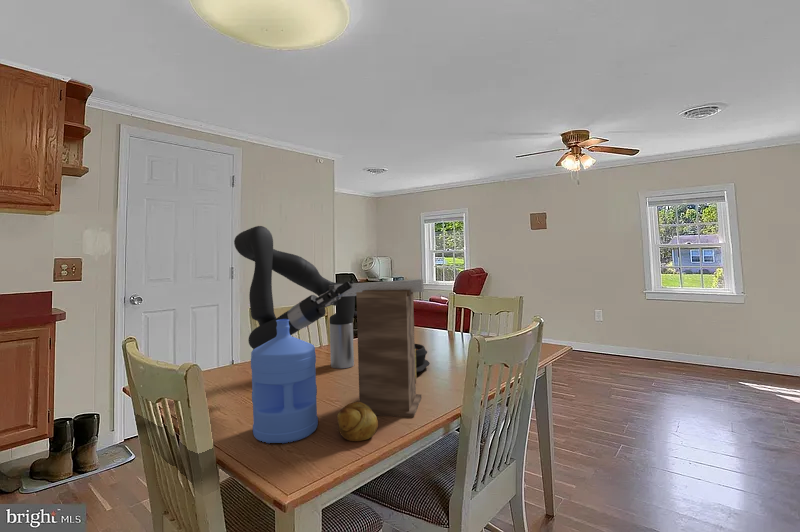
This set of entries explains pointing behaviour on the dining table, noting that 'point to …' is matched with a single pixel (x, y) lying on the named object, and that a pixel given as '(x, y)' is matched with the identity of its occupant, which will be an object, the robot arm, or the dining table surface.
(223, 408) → the dining table surface
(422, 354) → the casserole
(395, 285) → the steel bar
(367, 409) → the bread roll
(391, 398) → the stand
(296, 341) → the water jug
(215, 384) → the dining table surface
